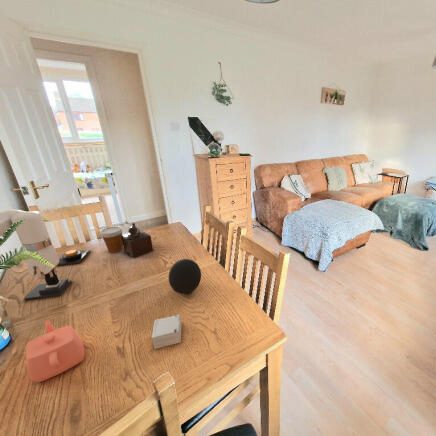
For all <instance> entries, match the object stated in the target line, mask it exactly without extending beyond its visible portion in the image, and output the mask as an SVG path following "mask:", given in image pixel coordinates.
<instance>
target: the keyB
mask: <svg viewBox="0 0 436 436" xmlns="http://www.w3.org/2000/svg"><path fill="white" fill-rule="evenodd" d="M64 253H65V254H66V256H73V255H75V254H77V252H76V249H70V250H67V251H66V252H64Z"/></svg>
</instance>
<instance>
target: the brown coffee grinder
mask: <svg viewBox="0 0 436 436" xmlns="http://www.w3.org/2000/svg"><path fill="white" fill-rule="evenodd" d="M121 239H122V243H123V252H124V253H125V254H126V255H127V256H129V257H131V258H133V259H135V258H137V257H142V256H143V255H146V254H148V253H151V252H153V251H154V247H153V241H152V236H151V234H148V233H147V232H145V231H143V230H140V229H139V228H138V227H137V226H136V223H135V222H133V223H131V227H128V233H127V234H124V235H122V236H121Z"/></svg>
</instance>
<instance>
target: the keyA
mask: <svg viewBox="0 0 436 436" xmlns="http://www.w3.org/2000/svg"><path fill="white" fill-rule="evenodd" d="M60 283H61V281H59V283H58V284H57V285H50V286H48V285H47V286H46V287H45V288H52V287H57V286H58V285H59V284H60Z"/></svg>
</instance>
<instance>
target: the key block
mask: <svg viewBox="0 0 436 436" xmlns="http://www.w3.org/2000/svg"><path fill="white" fill-rule="evenodd" d="M75 250H76V249H75ZM76 252H77V254H75V255H73V256H66V254H65V253H66V252H64V253H62V255H61V256H59V263H58V265H57V266H56V267H62V266H72V265H73V266H74V265H80V264H81V263H82V262H83V261H84V259H85V258H87V256H88V255H89V254H90V253H91V250H90V249H84V250H78V249H77V250H76Z"/></svg>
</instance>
